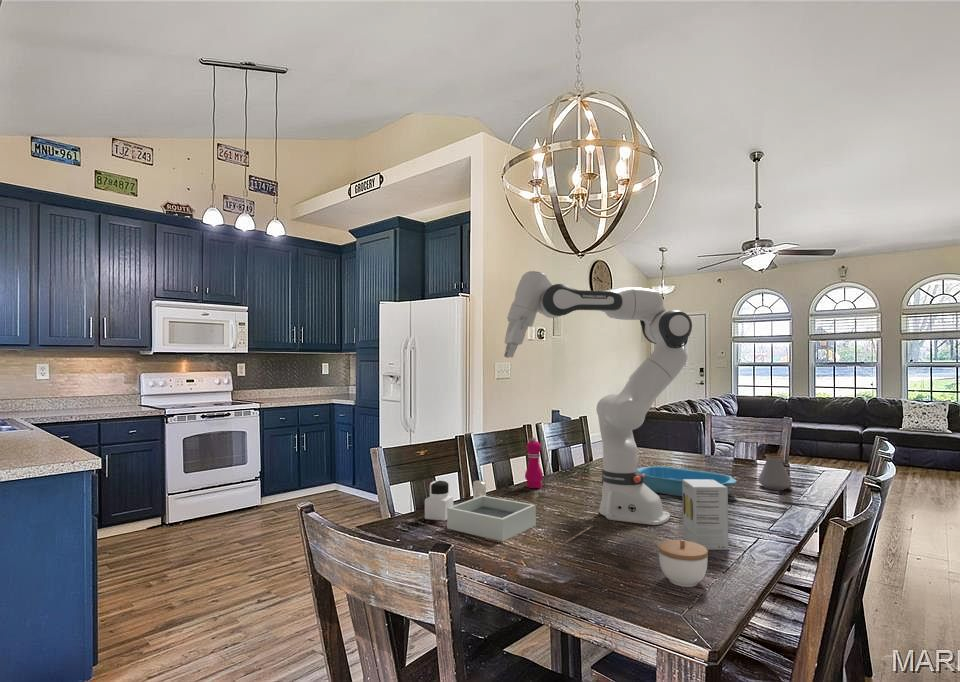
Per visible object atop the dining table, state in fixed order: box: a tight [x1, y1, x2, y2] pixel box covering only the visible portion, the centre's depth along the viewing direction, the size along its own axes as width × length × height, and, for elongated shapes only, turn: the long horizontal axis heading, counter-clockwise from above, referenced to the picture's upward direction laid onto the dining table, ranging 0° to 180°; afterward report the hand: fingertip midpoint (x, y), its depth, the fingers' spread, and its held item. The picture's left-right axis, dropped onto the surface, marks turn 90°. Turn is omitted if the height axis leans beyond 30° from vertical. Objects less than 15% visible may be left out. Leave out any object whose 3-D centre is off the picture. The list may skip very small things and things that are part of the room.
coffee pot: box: [757, 445, 792, 491], centre depth 214 cm, size 21×12×15 cm, turn 139°
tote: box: [446, 495, 537, 542], centre depth 160 cm, size 20×18×7 cm
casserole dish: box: [637, 465, 738, 498], centre depth 205 cm, size 37×22×7 cm, turn 54°
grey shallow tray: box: [471, 507, 514, 518], centre depth 160 cm, size 17×15×3 cm
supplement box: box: [682, 479, 729, 551], centre depth 147 cm, size 10×9×17 cm
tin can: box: [472, 480, 487, 499], centre depth 183 cm, size 4×4×9 cm
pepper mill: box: [524, 436, 544, 489], centre depth 213 cm, size 7×7×20 cm
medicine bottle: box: [424, 480, 454, 522], centre depth 171 cm, size 7×7×12 cm
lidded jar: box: [657, 539, 709, 588], centre depth 122 cm, size 11×11×9 cm
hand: (508, 357), depth 176 cm, fingers open, 8 cm apart
